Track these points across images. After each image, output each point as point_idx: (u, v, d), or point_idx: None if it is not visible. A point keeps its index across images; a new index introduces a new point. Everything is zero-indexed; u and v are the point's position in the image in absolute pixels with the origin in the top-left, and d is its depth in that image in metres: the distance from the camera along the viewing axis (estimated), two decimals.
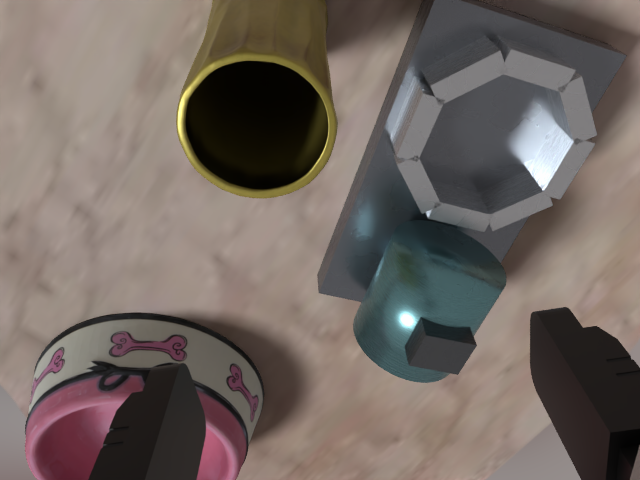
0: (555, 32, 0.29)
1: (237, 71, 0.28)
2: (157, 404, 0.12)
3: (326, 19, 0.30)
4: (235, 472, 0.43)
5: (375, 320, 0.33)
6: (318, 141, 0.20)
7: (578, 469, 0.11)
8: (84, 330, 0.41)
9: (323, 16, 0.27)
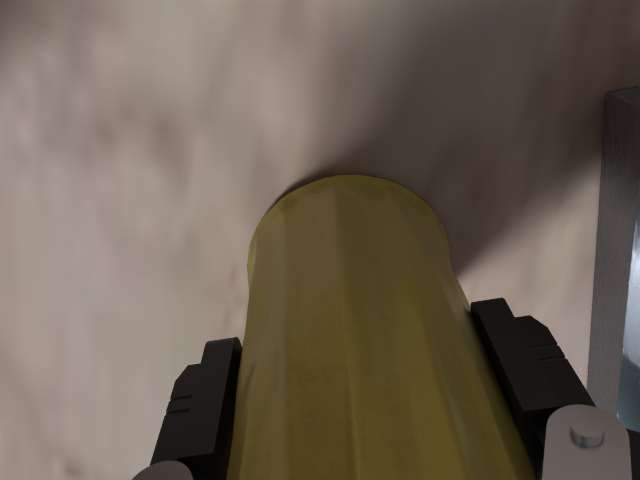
0: None
1: None
2: (217, 374, 0.12)
3: (442, 231, 0.16)
4: None
5: None
6: None
7: None
8: None
9: (441, 255, 0.14)
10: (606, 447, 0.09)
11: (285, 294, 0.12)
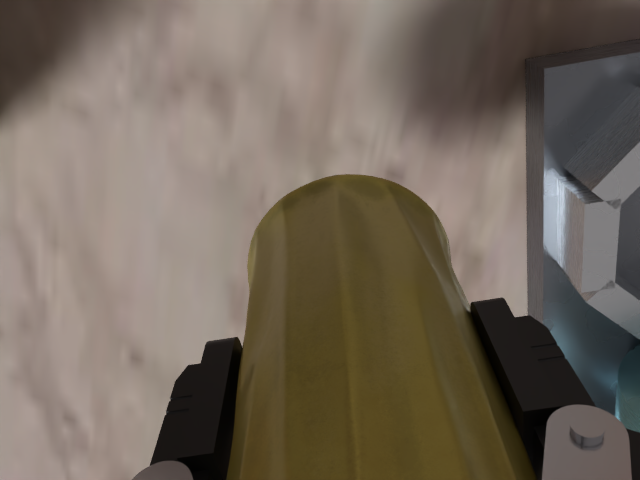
0: None
1: None
2: (217, 374, 0.12)
3: (442, 231, 0.16)
4: None
5: None
6: None
7: None
8: None
9: (441, 255, 0.14)
10: (606, 447, 0.09)
11: (285, 293, 0.12)
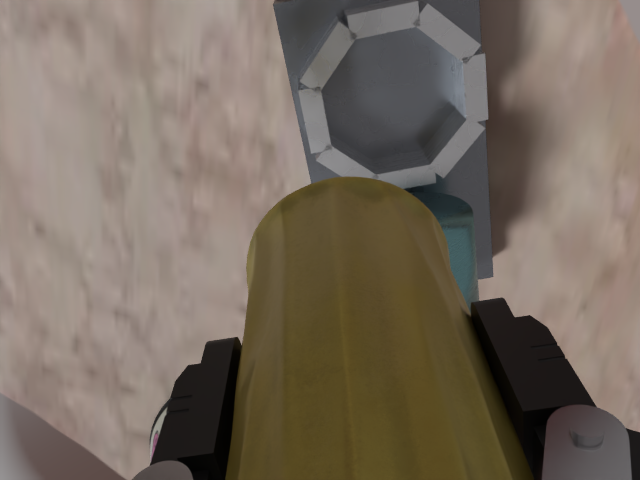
0: None
1: None
2: (217, 374, 0.12)
3: (441, 233, 0.16)
4: None
5: None
6: None
7: None
8: None
9: (439, 257, 0.14)
10: (606, 447, 0.09)
11: (284, 296, 0.12)
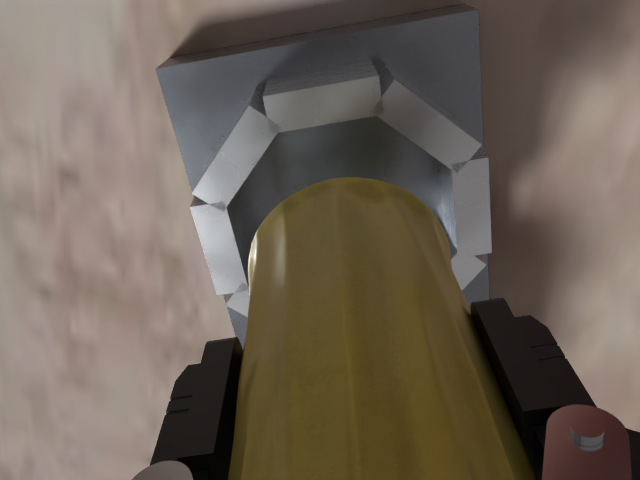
0: (349, 34, 0.19)
1: None
2: (217, 374, 0.12)
3: (442, 233, 0.16)
4: None
5: None
6: None
7: None
8: None
9: (441, 258, 0.14)
10: (606, 447, 0.09)
11: (286, 297, 0.12)
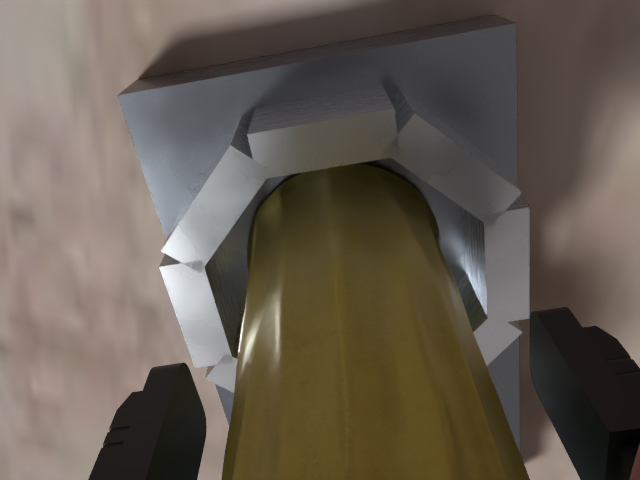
0: (355, 53, 0.15)
1: None
2: (157, 404, 0.12)
3: (432, 217, 0.17)
4: None
5: None
6: None
7: (578, 469, 0.11)
8: None
9: (430, 238, 0.15)
10: None
11: (282, 271, 0.13)
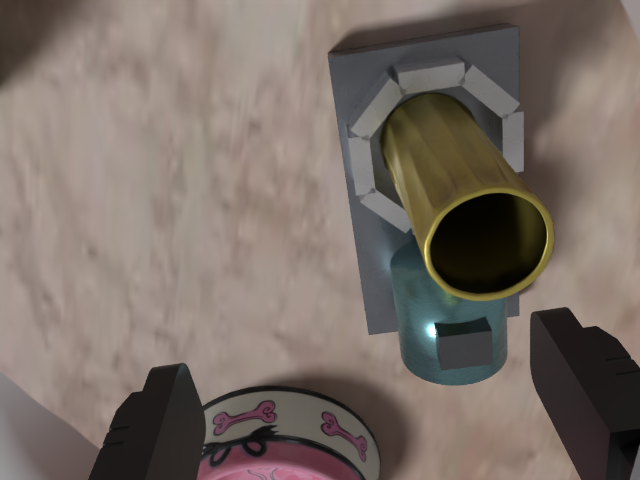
0: (442, 39, 0.33)
1: None
2: (157, 404, 0.12)
3: None
4: None
5: (406, 340, 0.36)
6: (535, 233, 0.24)
7: (578, 469, 0.11)
8: None
9: (477, 124, 0.32)
10: None
11: (417, 128, 0.30)
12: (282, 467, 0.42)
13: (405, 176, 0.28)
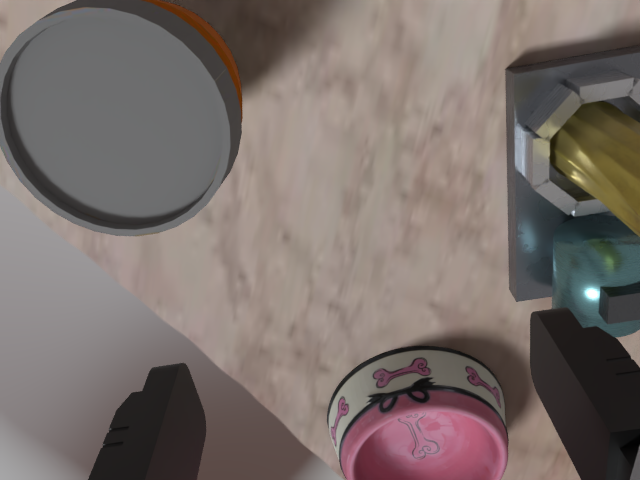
0: (608, 58, 0.40)
1: None
2: (157, 404, 0.12)
3: None
4: (505, 450, 0.53)
5: (568, 302, 0.44)
6: None
7: (578, 470, 0.11)
8: (352, 379, 0.55)
9: None
10: None
11: (601, 131, 0.38)
12: (444, 411, 0.50)
13: (603, 170, 0.36)
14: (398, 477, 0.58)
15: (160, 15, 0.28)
